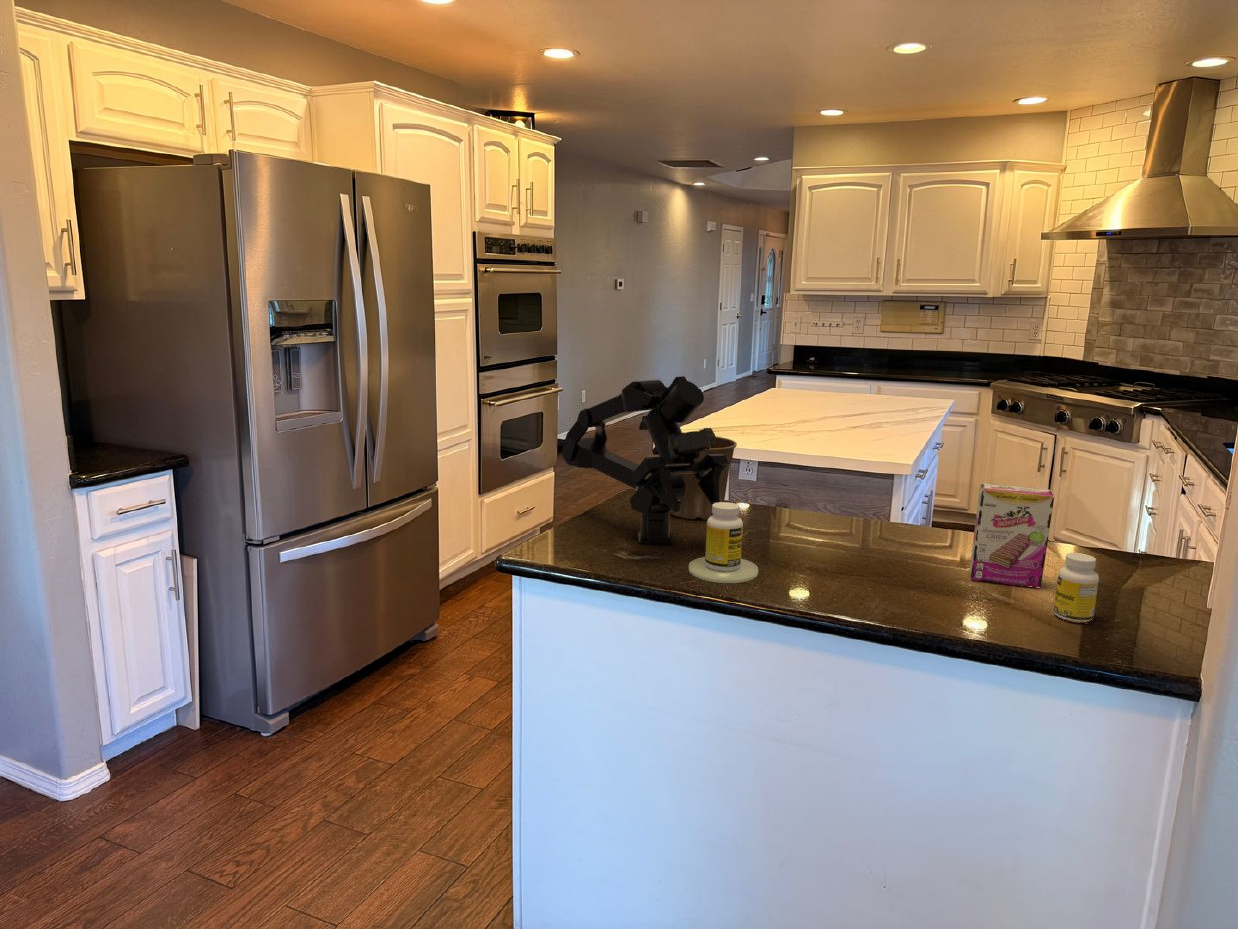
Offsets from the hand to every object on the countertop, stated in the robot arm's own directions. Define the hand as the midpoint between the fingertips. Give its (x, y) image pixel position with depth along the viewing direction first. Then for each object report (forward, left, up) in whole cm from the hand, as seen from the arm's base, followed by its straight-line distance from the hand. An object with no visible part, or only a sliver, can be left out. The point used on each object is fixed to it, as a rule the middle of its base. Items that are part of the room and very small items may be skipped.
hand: (698, 509), depth 149 cm
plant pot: (-32, +3, -10) cm, 33 cm away
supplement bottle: (+25, +55, -10) cm, 61 cm away
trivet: (+6, +4, -9) cm, 12 cm away
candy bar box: (+9, +52, -10) cm, 54 cm away
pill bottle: (+6, +4, -9) cm, 11 cm away
